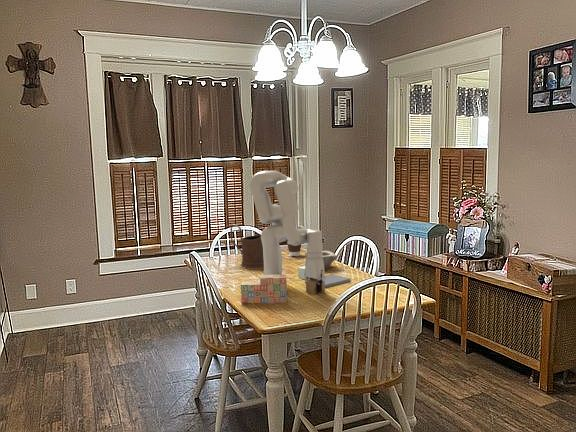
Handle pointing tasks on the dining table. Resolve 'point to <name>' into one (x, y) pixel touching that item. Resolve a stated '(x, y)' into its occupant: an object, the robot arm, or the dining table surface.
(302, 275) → the mint brick
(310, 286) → the walnut brick
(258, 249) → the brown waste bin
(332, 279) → the baseplate
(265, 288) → the stack of blocks
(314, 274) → the robot arm
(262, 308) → the dining table surface
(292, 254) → the coffee cup
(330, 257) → the mortar
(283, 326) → the dining table surface
